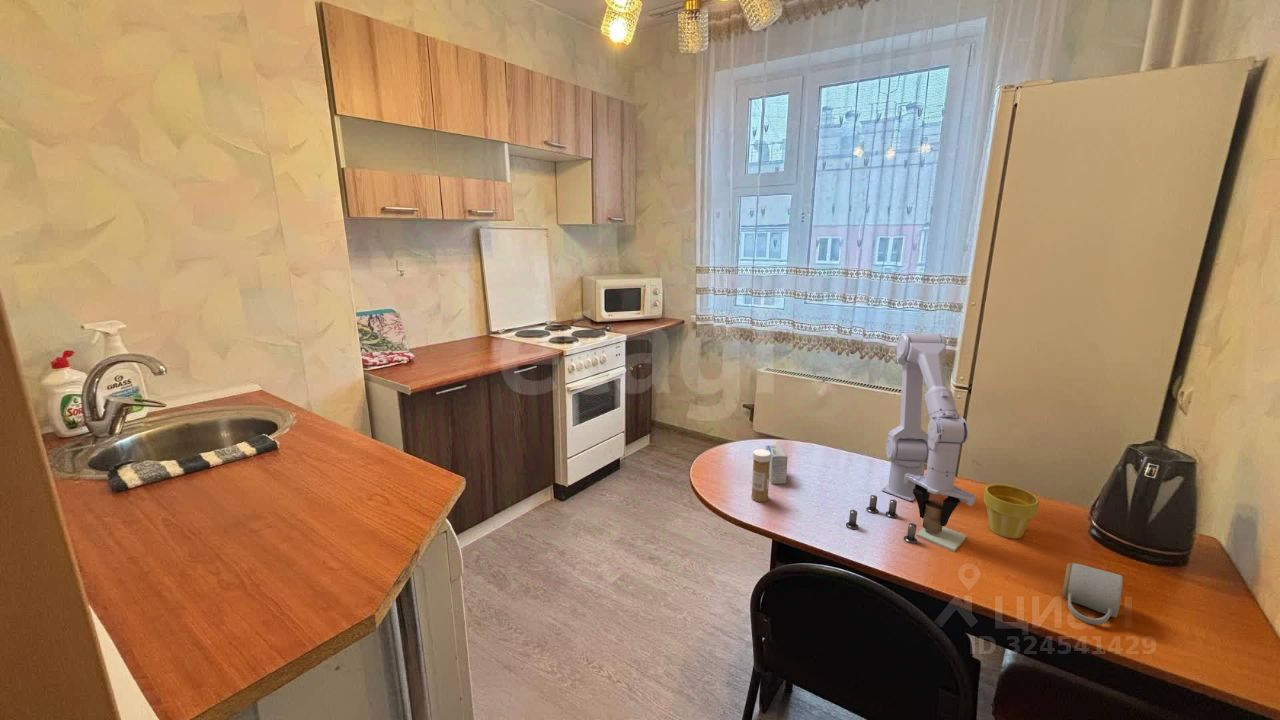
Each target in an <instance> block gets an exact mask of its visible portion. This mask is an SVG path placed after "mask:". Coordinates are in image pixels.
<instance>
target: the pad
mask: <svg viewBox="0 0 1280 720" xmlns="http://www.w3.org/2000/svg"><path fill="white" fill-rule="evenodd" d="M967 536H968V535H966V534H963V533H962V532H958V531H957V530H954V529H951V528H948V527H946V526H942V531H941V532H931V531H928V530H926V529H925V528H924V527H922V528H921V529H920V530H919V531H918V532H917V533H916V537H917V538H920V539H922V540H924V541H927V542H929V543H932V544H934V545H936V546H939V547H941V548H944V549H946V550H948V551H951V552H954V553H955V551H957V550H958V549H959V547H961V545H962V544H963V543H964V541H965V540H966V539H967V538H968V537H967Z"/></svg>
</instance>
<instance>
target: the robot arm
mask: <svg viewBox="0 0 1280 720" xmlns="http://www.w3.org/2000/svg"><path fill="white" fill-rule="evenodd" d="M946 350H947V341H946V338H945V336H944V335H943V334H942V333H937V334H934V333H931V334H930V333H906V332H903V333H902V334H901V335H899V337H898V340H897V342H896V363H898V364H899V365H901V366H902V369H901V370H902V373H901V374H902V377H901V378H902V379H901V393H900V394H901V395H900V396H901V397H900V398H901V399H900V413H899V415H900V417H899V418H900V419H899V420H900V421H899V425H898V426H896V427H895V428H892V429H891V430H890V431H889V432H888V435H887V440H886V443H885V454H886V456H887V459H888V460H890V462H891V463H890V468H889V469H890V470H889V477H888V484H886V485H885V486H883V488H882V489H881V491H883V492H885V493H887V494H890V495H893V496H895V497H898V498H900V499H904V500H906V501H909V502H913V501H914V500H916V503H917V507H918V512H919V518H922V519H924V512H925V504H926V501H929V499H930V495H931V494H933V495H938V494H939V495H943V496H945V497H946V498H944V500H943V501H942V503H943V515H942V520H941V526H943V527H946V526H947V524H948V522H949V520H950V517H951V515H952V514H953V513H954V510H955V509H956V508H957V507H958V506H959V505H960V503H962V502H963V503H966V505H967V506H971V507H972V506H974V504H976V502H975V501H976V496H977V495H976V494H973V493H970V492H969V491H966V490H964V489H962V488H959V487H957V486H956V485H955V479H956V474H957V473H956V472H957V467H958V461H959V455H960V449H961V444H964V443H966V441H967V440H968V434H969V428H968V423H967V421H966V419H965V418H964V417H963V416H962V414H961V413H958V408H957V406H956V402H955V398H954V396H953V392H952V390H951V389H949V388H947V387H946V384H945V377H944V372H943V370H944V369H943V364H942V361H943V359H944V356H945V355H946V354H945V353H946V352H947V351H946ZM924 383H925V386H926V387H927V391H926V393H925V394H924V399H925V400H924V401H925V405H926V409H927V412H928V417H929V422H928V425H927V432H926V431H925V430H923V429H922V427H921V422H922V404H923V403H922V402H923V384H924ZM926 463H927V464H926ZM925 464H926V469H925ZM925 470H926V472H925ZM924 475H925V476H924Z"/></svg>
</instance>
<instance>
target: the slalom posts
mask: <svg viewBox="0 0 1280 720" xmlns="http://www.w3.org/2000/svg"><path fill="white" fill-rule="evenodd" d="M877 504H878V496H877V495H875V494H871V495H870V498H869V506H868V507H866V512H868V513H869V514H872V515H873V514H874V515H875V514H879V509H878V508H877ZM888 505H889V507H888V511H886V512H885V516H886V517H888V518H890V519H894V520H895V519H898V518H899V514H898V513H896V512H897V505H898V501H897V500H896V499H890V500H889V504H888ZM857 516H858V511H857V510H854V509H851V510H849V518H848V519H849V520H848V522H846V524H845V526H846V528H848V529H849V530H853V531H854V530H855V531H856V530H859V525H858V524H857V518H858V517H857ZM916 532H917V524H915V523H914V522H913V523H912V522H910V523H908V528H907V533H906V535H904V536H903V541H905V542H906V543H907V544H911V545H916V544H918V539H917V538H916V534H917V533H916Z"/></svg>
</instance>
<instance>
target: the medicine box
mask: <svg viewBox="0 0 1280 720" xmlns="http://www.w3.org/2000/svg"><path fill="white" fill-rule="evenodd" d="M765 450H767V451H769V452H770V453H771V460H770V468H769V483H770V484H771V485H784V484H785V485H786V484H787V474H788V458H789V457H788V455H787V453H786V452H785V450H784V448H783V447H782V445H781V444H768V445H766V447H765Z"/></svg>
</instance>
